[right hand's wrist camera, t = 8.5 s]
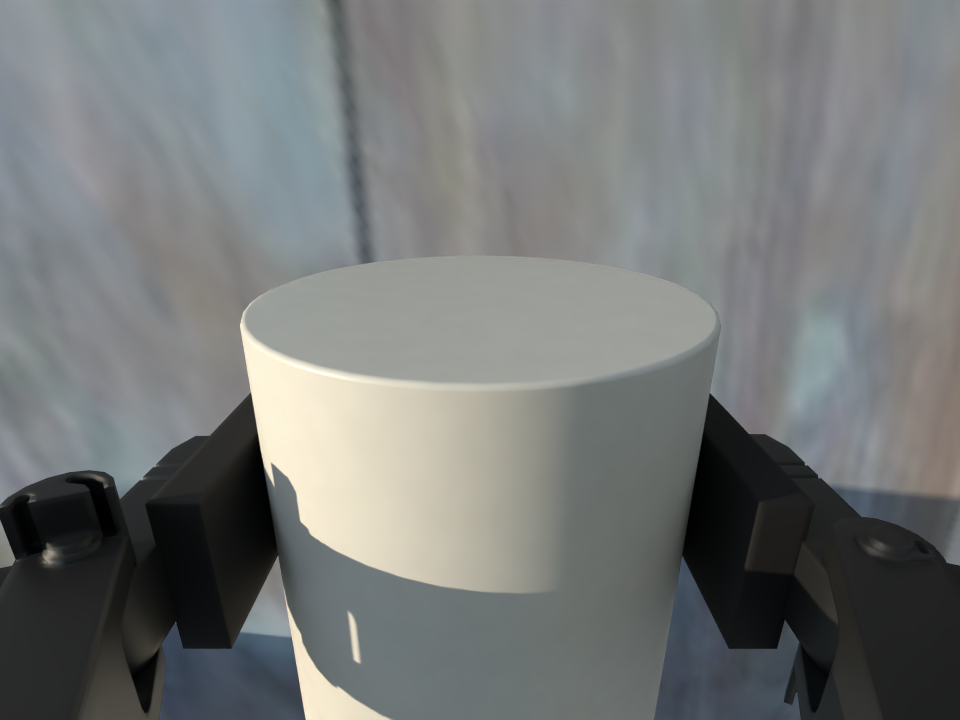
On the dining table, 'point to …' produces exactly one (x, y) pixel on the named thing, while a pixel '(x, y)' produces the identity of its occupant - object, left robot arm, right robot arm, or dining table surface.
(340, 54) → the dining table surface
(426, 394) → the paper towel roll
